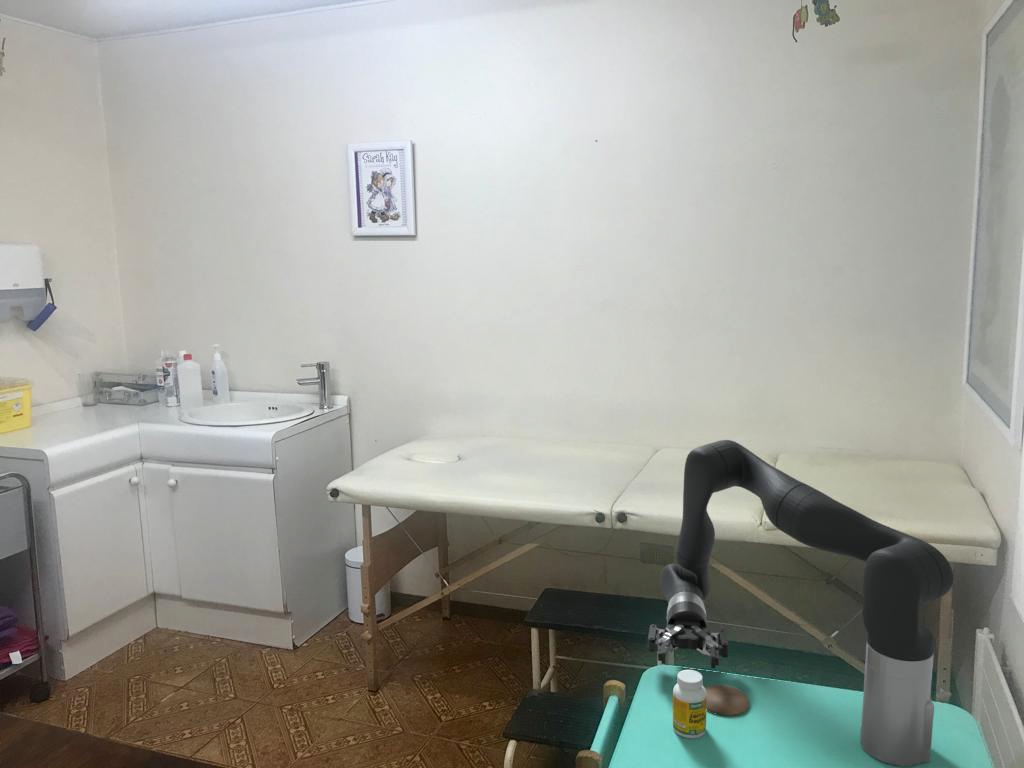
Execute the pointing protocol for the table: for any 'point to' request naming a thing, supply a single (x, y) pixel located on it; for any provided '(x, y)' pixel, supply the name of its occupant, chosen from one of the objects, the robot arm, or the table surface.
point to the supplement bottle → (689, 704)
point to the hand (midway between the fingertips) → (688, 661)
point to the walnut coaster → (726, 700)
